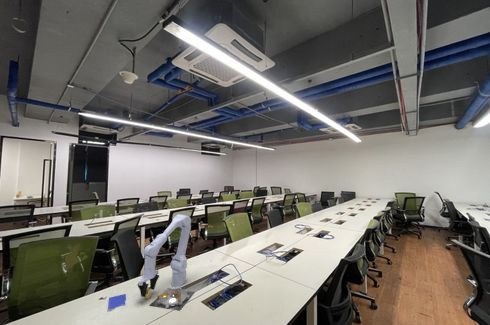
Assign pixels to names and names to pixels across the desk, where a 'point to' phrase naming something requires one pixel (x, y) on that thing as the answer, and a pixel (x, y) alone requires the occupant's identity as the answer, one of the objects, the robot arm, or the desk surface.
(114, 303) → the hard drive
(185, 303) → the base plate
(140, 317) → the desk surface
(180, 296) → the tabbed metal disc
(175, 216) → the robot arm
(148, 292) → the roller
